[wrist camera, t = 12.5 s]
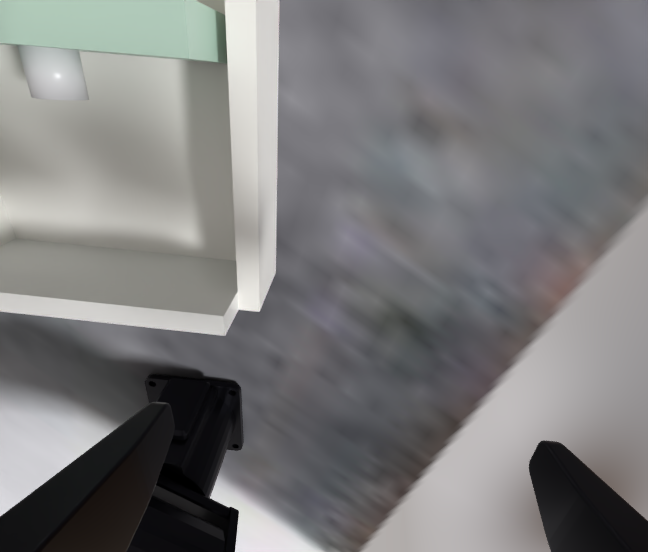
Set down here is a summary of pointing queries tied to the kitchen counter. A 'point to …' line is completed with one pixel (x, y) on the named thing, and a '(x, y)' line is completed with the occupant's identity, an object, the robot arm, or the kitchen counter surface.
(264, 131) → the white tray
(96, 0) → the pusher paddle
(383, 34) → the kitchen counter surface
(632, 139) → the kitchen counter surface
